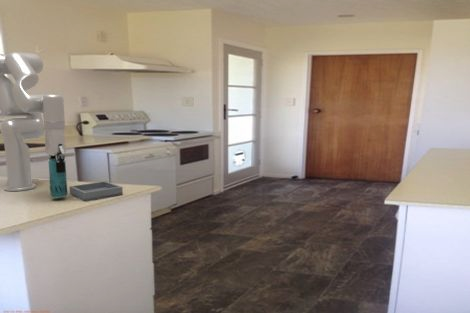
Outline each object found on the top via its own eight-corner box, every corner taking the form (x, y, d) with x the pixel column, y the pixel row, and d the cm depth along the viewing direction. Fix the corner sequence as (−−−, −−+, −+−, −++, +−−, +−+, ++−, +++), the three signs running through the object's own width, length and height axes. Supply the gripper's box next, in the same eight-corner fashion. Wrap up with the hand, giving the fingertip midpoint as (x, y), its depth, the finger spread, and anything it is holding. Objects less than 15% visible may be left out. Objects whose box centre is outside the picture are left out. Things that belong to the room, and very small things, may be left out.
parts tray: (69, 194, 165) (69, 186, 164) (105, 188, 176) (105, 181, 175) (85, 201, 153) (84, 192, 153) (122, 194, 164) (122, 186, 164)
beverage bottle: (46, 200, 155) (43, 150, 152) (58, 196, 161) (54, 148, 158) (61, 201, 153) (57, 151, 150) (71, 197, 160) (68, 149, 157)
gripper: (37, 125, 157) (40, 169, 159) (52, 127, 144) (55, 175, 147) (56, 124, 162) (59, 167, 164) (72, 126, 149) (75, 172, 152)
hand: (57, 170), depth 156 cm, fingers closed on beverage bottle, 6 cm apart
